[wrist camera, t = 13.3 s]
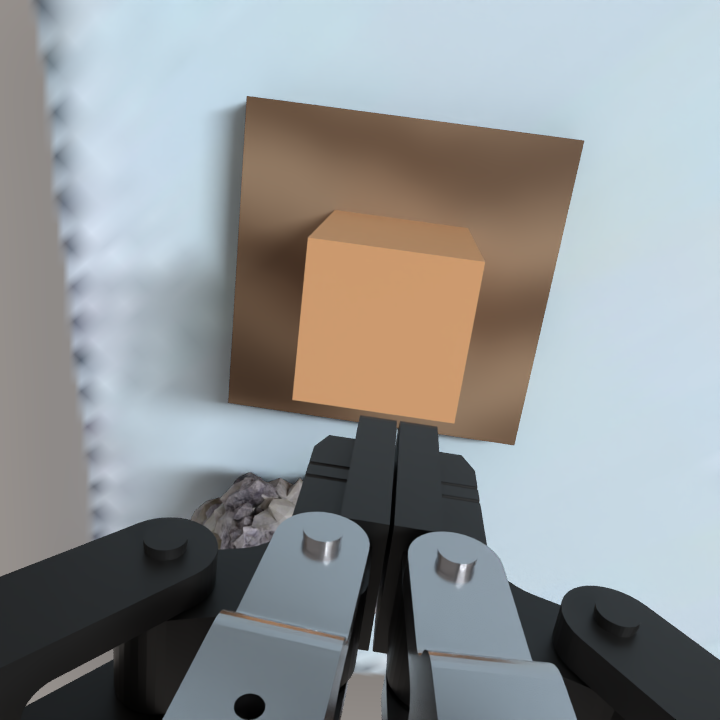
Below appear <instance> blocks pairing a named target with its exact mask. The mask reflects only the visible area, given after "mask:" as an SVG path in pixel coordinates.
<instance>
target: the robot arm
mask: <svg viewBox="0 0 720 720" xmlns="http://www.w3.org/2000/svg"><path fill="white" fill-rule="evenodd" d="M396 428H397V420H391V419H385V418H378V417H371V416H365V415H360V418H359V423H358V428H357V434H356V439H351V438H345V437H338V436H332V435H329V436H328V437H326V438H325V439H323V440H322V441H321V442H319V443H318V444H317V445H315V446H314V449H313V452H312V455H311V458H310V462H309V465H308V468H307V471H306V475H305V477H304V480H303V483H302V487H301V490H300V493H299V496H298V499H297V502H296V505H295V508H294V512H293V515H292V517H289V518H287V519H286V520H284V521H283V522H282V523H281V524H280V525H279V526H278V527H277V529H276V530H275V533H274V535H273V537H272V539H271V541H269V542H267V543H264V544H261V545H258V546H253V547H247V548H236V549H220V550H218V543H217V539H216V537H215V536H214V534H213V533H212V532H211V531H210V530H209V529H208V528H206V527H205V526H204V525H202V524H199V523H197V522H195V521H191V520H188V519H182V518H157V519H152V520H147V521H144V522H141V523H138V524H135V525H133V526H130V527H128V528H125V529H122V530H120V531H117V532H115V533H112V534H109V535H107V536H104V537H102V538H99V539H97V540H94V541H91V542H89V543H86V544H84V545H81V546H78V547H76V548H74V549H71V550H68V551H66V552H63V553H61V554H58V555H55V556H53V557H50V558H47V559H45V560H42V561H40V562H37V563H35V564H32V565H29V566H27V567H24V568H22V569H19V570H16V571H14V572H11V573H9V574H6V575H3V576H1V577H0V720H341V715H342V710H343V706H344V701H345V697H346V691H347V685H348V680H349V679H350V677H351V676H352V674H353V672H354V668H355V664H356V657H357V651H358V649H360V650H366V651H368V649H369V644H370V638H371V632H372V626H373V620H374V614H375V608H376V617H375V629H374V640H373V651H374V652H380V653H386V654H387V668H386V674H385V679H384V684H383V690H382V697H381V712H382V720H720V660H719V659H718V658H716V657H715V656H714V655H712V654H711V653H709V652H708V651H707V650H705V649H704V648H703V647H701V646H700V645H699V644H697V643H696V642H695V641H693V640H692V639H690V638H689V637H688V636H686V635H685V634H684V633H682V632H681V631H680V630H678V629H677V628H676V627H674V626H673V625H671V624H670V623H669V622H667V621H666V620H665V619H663V618H662V617H661V616H659V615H658V614H656V613H655V612H654V611H652V610H651V609H650V608H648V607H647V606H646V605H644V604H643V603H641V602H640V601H638V600H636V599H634V598H633V597H631V596H629V595H626V594H624V593H622V592H619V591H616V590H613V589H610V588H605V587H600V586H581V587H577V588H574V589H572V590H570V591H569V592H568V593H567V594H566V595H565V596H564V598H563V600H562V603H561V605H558V604H556V603H553V602H551V601H548V600H545V599H543V598H540V597H538V596H535V595H533V594H530V593H528V592H526V591H524V590H522V589H520V588H518V587H516V586H515V585H513V584H512V583H511V582H509V581H508V580H507V576H506V573H505V570H504V567H503V564H502V562H501V560H500V558H499V557H498V556H497V555H496V553H495V552H494V551H493V550H491V549H490V548H489V547H488V546H487V543H486V537H485V531H484V525H483V518H482V512H481V506H480V503H479V494H478V490H477V482H476V475H475V471H474V469H473V468H472V467H471V466H470V465H469V464H468V462H467V461H466V460H465V459H464V458H463V457H462V455H456V454H449V453H443V452H439V442H438V428H437V426H431V425H425V424H418V423H411V422H405V421H400V423H399V428H398V433H397V439H396ZM395 443H396V445H395ZM376 602H377V605H376ZM113 648H114V659H113V660H111V661H110V662H108V663H106V664H104V665H102V666H101V667H98V668H96V669H95V670H93V671H91V672H89V673H87V674H85V675H83V676H81V677H80V678H78V679H76V680H74V681H72V682H70V683H68V684H66V685H65V686H63V687H61V688H59V689H57V690H55V691H54V692H51V693H50V694H48V695H46V696H44V697H42V698H40V699H38V700H37V701H35V702H33V703H31V704H29V705H28V706H26V704H27V702H28V701H29V700H30V699H31V697H32V696H33V695H34V694H35V693H36V692H37V691H38V690H39V689H40V688H41V687H43V686H44V685H45V684H47V683H48V682H50V681H52V680H54V679H56V678H57V677H59V676H61V675H63V674H65V673H67V672H69V671H71V670H73V669H75V668H77V667H78V666H80V665H82V664H84V663H86V662H88V661H90V660H92V659H94V658H96V657H98V656H100V655H102V654H104V653H105V652H107V651H109V650H111V649H113Z"/></svg>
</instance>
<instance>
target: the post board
mask: <svg viewBox="0 0 720 720" xmlns="http://www.w3.org/2000/svg"><path fill="white" fill-rule="evenodd" d="M583 144H584V141H583V140H575V139H568V138H560V137H552V136H545V135H537V134H530V133H522V132H515V131H507V130H500V129H492V128H484V127H477V126H469V125H462V124H454V123H447V122H439V121H432V120H424V119H416V118H409V117H401V116H394V115H386V114H379V113H371V112H364V111H356V110H348V109H341V108H333V107H326V106H318V105H311V104H303V103H295V102H288V101H280V100H273V99H265V98H258V97H250V96H247V102H246V118H245V135H244V151H243V168H242V184H241V201H240V217H239V234H238V250H237V266H236V283H235V299H234V316H233V332H232V349H231V365H230V382H229V398H228V403H233V404H240V405H247V406H253V407H260V408H267V409H273V410H280V411H287V412H294V413H300V414H307V415H314V416H321V417H327V418H334V419H341V420H348V421H354V422H359V418H360V415H365V416H371V417H378V418H385V419H391V420H397V428H399V423H400V421H405V422H411V423H418V424H425V425H431V426H437V428H438V434H442V435H449V436H455V437H462V438H469V439H476V440H482V441H489V442H496V443H502V444H509V445H514V444H515V440H516V435H517V431H518V427H519V422H520V418H521V414H522V409H523V405H524V401H525V396H526V392H527V388H528V383H529V379H530V374H531V370H532V366H533V361H534V357H535V353H536V348H537V344H538V340H539V335H540V331H541V327H542V322H543V318H544V314H545V309H546V305H547V300H548V296H549V292H550V287H551V283H552V279H553V274H554V270H555V266H556V261H557V257H558V253H559V248H560V244H561V240H562V235H563V231H564V226H565V222H566V218H567V213H568V209H569V205H570V200H571V196H572V192H573V187H574V183H575V179H576V174H577V170H578V166H579V161H580V157H581V152H582V148H583ZM334 210H339V211H346V212H354V213H361V214H368V215H376V216H383V217H390V218H397V219H405V220H412V221H419V222H427V223H434V224H441V225H449V226H456V227H463V228H468V229H469V231H470V233H471V235H472V237H473V239H474V241H475V243H476V245H477V247H478V249H479V251H480V253H481V255H482V257H483V259H484V261H485V266H484V271H483V276H482V282H481V287H480V292H479V297H478V303H477V308H476V313H475V318H474V323H473V329H472V334H471V339H470V344H469V350H468V355H467V360H466V365H465V371H464V376H463V381H462V386H461V392H460V397H459V402H458V407H457V412H456V418H455V423H454V424H453V423H447V422H440V421H433V420H426V419H419V418H413V417H406V416H399V415H392V414H385V413H379V412H372V411H365V410H358V409H351V408H345V407H338V406H331V405H324V404H317V403H310V402H304V401H297V400H292V398H293V387H294V377H295V367H296V356H297V346H298V335H299V325H300V315H301V304H302V294H303V283H304V273H305V262H306V252H307V242H308V237H309V236H310V235H311V234H312V233H313V232H314V231H315V230H316V229H317V228H318V227H319V226H320V225H321V224H322V223H323V222H324V221H325V220H326V219H327V218H328V217H329V216H330V215H331V214H332V213H333V212H334Z"/></svg>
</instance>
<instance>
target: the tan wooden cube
mask: <svg viewBox="0 0 720 720" xmlns="http://www.w3.org/2000/svg"><path fill="white" fill-rule="evenodd" d="M484 266H485V261H484V259H483V257H482V255H481V253H480V251H479V249H478V247H477V245H476V243H475V241H474V239H473V237H472V235H471V233H470V231H469V229H468V228H463V227H456V226H449V225H441V224H434V223H427V222H419V221H412V220H405V219H397V218H390V217H383V216H376V215H368V214H361V213H354V212H346V211H339V210H334V212H333V213H332V214H331V215H330V216H329V217H328V218H327V219H326V220H325V221H324V222H323V223H322V224H321V225H320V226H319V227H318V228H317V229H316V230H315V231H314V232H313V233H312V234H311V235H310V236H309V237H308V242H307V252H306V262H305V273H304V283H303V294H302V304H301V315H300V325H299V335H298V346H297V356H296V367H295V377H294V387H293V398H292V400H297V401H304V402H310V403H317V404H324V405H331V406H338V407H345V408H351V409H358V410H365V411H372V412H379V413H385V414H392V415H399V416H406V417H413V418H419V419H426V420H433V421H440V422H447V423H453V424H454V423H455V418H456V412H457V407H458V402H459V397H460V392H461V386H462V381H463V376H464V371H465V365H466V360H467V355H468V350H469V344H470V339H471V334H472V329H473V323H474V318H475V313H476V308H477V303H478V297H479V292H480V287H481V282H482V276H483V271H484Z"/></svg>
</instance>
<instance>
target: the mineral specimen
mask: <svg viewBox="0 0 720 720" xmlns="http://www.w3.org/2000/svg"><path fill="white" fill-rule="evenodd" d="M302 483H303V481H302V480H301V478H300V479H299V480H298V481H297V482H296V483H295V484H291V483H289V482H287V481H285V480H283V479H282V478H279V479H276V480H273V481H270V482H265V481H264V480H263V479H262V478H261V477H258V476H257V475H255V474H253V473H251V472H249V473H247V474H245V475H243V476H241V477H239V478H238V479H237V480H236V481H235V482H234V485H232V486H231V487H230V488H229V489H228V491H227V492H226V493H225V494H224V495H223V496H222V497H221V498H216V499H212V500H209V501H206V502H205V503H204V504H202V505H201V506H200V507H199V508H198V509H197V510H196V511H194V514H193V516H192V518H191V521H195V522H197V523H199V524H202V525H204V526H205V527H206V528H208V529H209V530H210V531H211V532H212V533H213V534H214V536H215V537H216V539H217V543H218V550H220V549H236V548H247V547H253V546H258V545H261V544H264V543H267V542H269V541H271V539H272V537H273V535H274V533H275V530H276V529H277V527H278V526H279V525H280V524H281V523H282V522H283V521H284V520H286V519H287V518H289V517H292V515H293V512H294V508H295V505H296V502H297V499H298V496H299V493H300V490H301V487H302ZM376 605H377V602H376ZM375 613H376V608H375Z"/></svg>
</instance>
